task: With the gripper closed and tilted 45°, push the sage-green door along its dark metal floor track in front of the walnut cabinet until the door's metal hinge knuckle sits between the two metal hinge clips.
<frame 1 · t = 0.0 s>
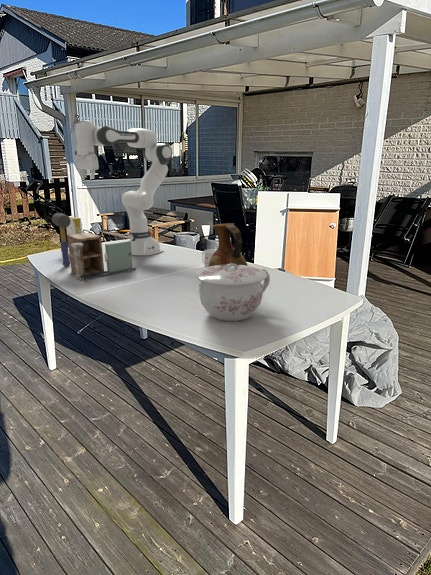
hand: (88, 178, 225), 48 cm above the table, tool pointing down, fingers open, 8 cm apart
cabinet door: (120, 271, 218), resting in door track
walnut cabinet: (87, 272, 216), on the table
ceramic pitcher: (228, 285, 194), on the table
door track: (108, 273, 213), on the table
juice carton: (77, 253, 260), on the table
mug: (210, 270, 220), on the table
chamber pot: (231, 315, 157), on the table
rubber mallet: (66, 267, 228), on the table
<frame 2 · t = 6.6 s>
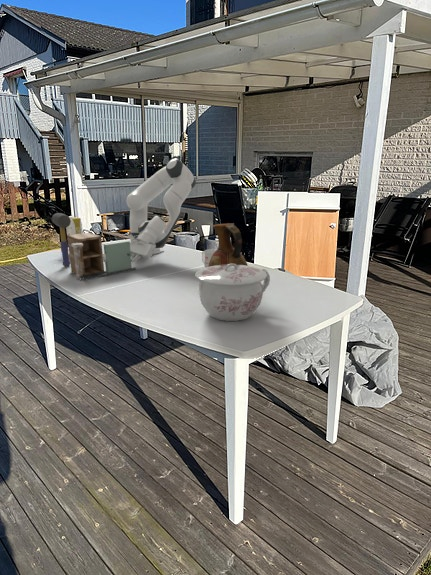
hand: (132, 261, 220), 5 cm above the table, tool tilted 45°, fingers closed
cabinet door: (119, 271, 217), resting in door track, touching gripper
everything else where it was.
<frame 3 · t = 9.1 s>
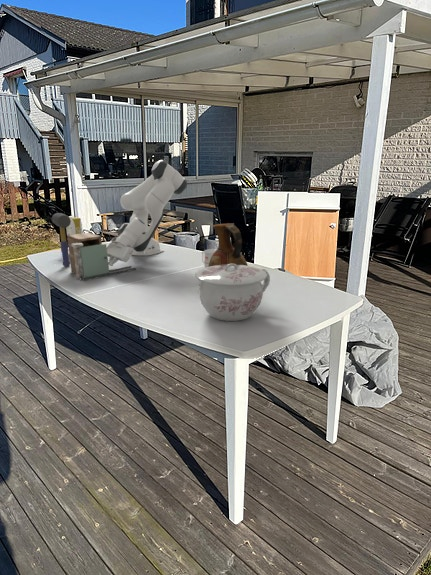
hand: (109, 264, 212), 5 cm above the table, tool tilted 45°, fingers closed, pressing on cabinet door
cabinet door: (96, 276, 209), resting in door track, touching gripper
everything else where it was.
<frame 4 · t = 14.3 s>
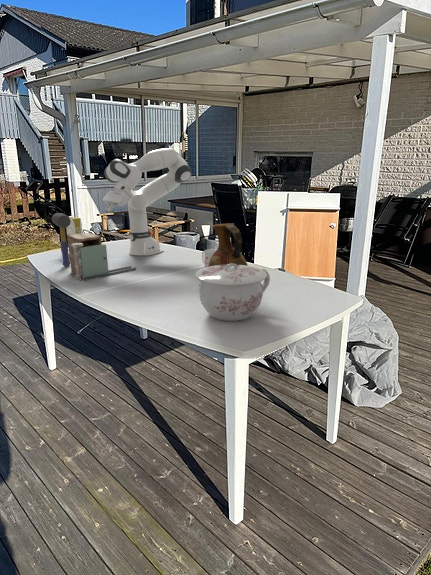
hand: (107, 210, 221), 31 cm above the table, tool tilted 45°, fingers closed
cabinet door: (95, 276, 209), resting in door track
everything else where it was.
at the end: cabinet door 0.7 cm from the target spot, resting in door track; cabinet door tilted 0°; the gripper is holding nothing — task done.
